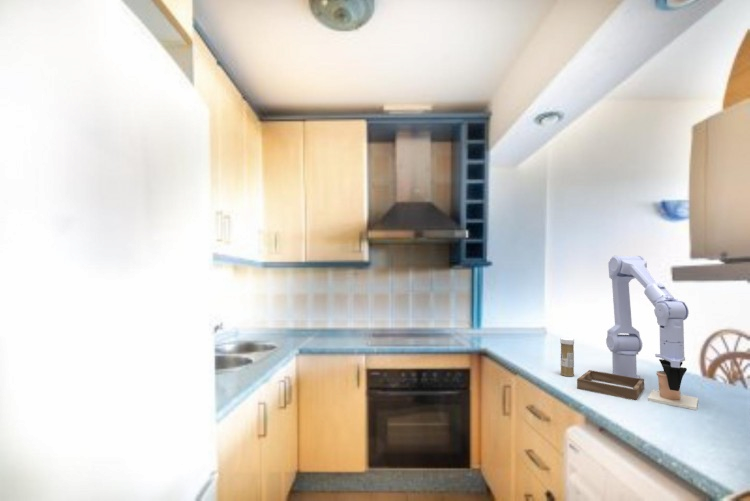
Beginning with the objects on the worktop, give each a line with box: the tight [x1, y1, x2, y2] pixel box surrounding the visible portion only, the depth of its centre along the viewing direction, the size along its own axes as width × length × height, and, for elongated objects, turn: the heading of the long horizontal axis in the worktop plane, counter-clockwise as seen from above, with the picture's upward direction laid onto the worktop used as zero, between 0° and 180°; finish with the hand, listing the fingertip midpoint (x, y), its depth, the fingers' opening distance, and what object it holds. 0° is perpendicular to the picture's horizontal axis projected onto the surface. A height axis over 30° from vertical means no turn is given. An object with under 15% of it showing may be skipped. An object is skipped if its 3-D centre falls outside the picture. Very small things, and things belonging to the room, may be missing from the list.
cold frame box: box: [576, 369, 645, 401], centre depth 123 cm, size 16×16×3 cm
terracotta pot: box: [656, 370, 682, 400], centre depth 113 cm, size 6×6×7 cm
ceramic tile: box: [647, 389, 699, 411], centre depth 112 cm, size 11×11×1 cm
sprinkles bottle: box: [559, 337, 575, 377], centre depth 139 cm, size 5×5×14 cm
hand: (672, 387), depth 113 cm, fingers open, 6 cm apart
